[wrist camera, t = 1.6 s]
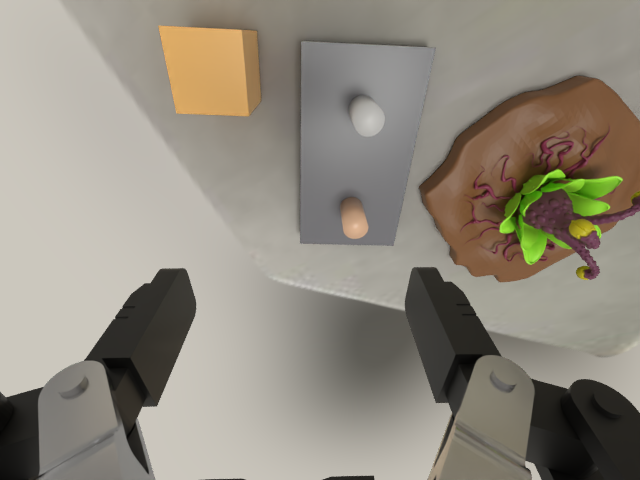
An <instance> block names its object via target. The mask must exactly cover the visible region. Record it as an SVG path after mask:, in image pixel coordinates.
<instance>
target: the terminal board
mask: <svg viewBox="0 0 640 480" xmlns="http://www.w3.org/2000/svg"><path fill="white" fill-rule="evenodd" d="M435 49H436V48H433V47H420V46H399V45H378V44H358V43H337V42H317V41H301V183H300V243H303V244H344V245H385V246H393V245H394V241H395V236H396V231H397V227H398V222H399V217H400V213H401V208H402V203H403V199H404V194H405V189H406V185H407V180H408V175H409V171H410V166H411V161H412V157H413V152H414V147H415V143H416V138H417V133H418V129H419V124H420V119H421V115H422V110H423V105H424V101H425V96H426V91H427V87H428V82H429V77H430V72H431V68H432V63H433V58H434V54H435Z"/></svg>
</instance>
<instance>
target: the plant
mask: <svg viewBox="0 0 640 480" xmlns="http://www.w3.org/2000/svg"><path fill="white" fill-rule="evenodd" d="M419 189H420V192H421V196H422V202H423V204H424V206H425V207H426V209H427V210H428V211H429V213H430V214H431V215H432V216H433V218H434V221H435V225H436V227H437V228H438V230H439V232H440V233H441V235H442V236H443V238H444V239H445V241H446V242H447V243H448V244H449V245H450V256H451V258H452V260H453V261H454V263H455V264H456V265H463V266H466V268H467V269H468V271H469V272H470V274H471V275H473V276H475V277H480V276H486V275H494V277H495V278H496V279H497V280H498V281H499V282H510V281H517V280H521V279H525V278H528V277H530V276H532V275H534V274H536V273H538V272H539V271H541V270H543V269H545V268H547V267H548V266H550V265H552V264H554V263H556V262H558V261H560V260H562V259H564V258H566V257H568V256H570V255H571V254H573V253H575V252H577V253H578V254H579V255H580V256H581V258H582V260H585V262H586V263H587V265H588V266H589V267H588V266H582V267H579V268H578V269H577V270H576V274H577V276H578V277H579V278H581V279H584V280H588V279H590V280H591V279H594V278H596V276H598V274H599V273H600V272H599V270H600V269H598V268H599V267H598V266H596V261H594V260H593V257H592V256H590V254H589V253H590V252H589V250H586V249H585V246H586V247H587V248H588V249H591V248H593V249H596V248H598V247H599V245H600V241H599V240H600V238H601V234H602V233H604V232H606V231H608V230H610V229H612V228H613V227H614V226H615V225H616V223H617V222H618V221H619V220H623V219H625V218H626V217H628V216H632V215H634V214H635V213H636V212H639V211H640V121H639V120H638V119H637V117H636V116H635V115H634V114H633V112H632V111H631V110H630V109H629V108H628V106H627V105H626V104H625V103H624V102H623V101H622V99H621V98H620V97H619V95H618V94H617V93H616V92H615V91H614V90H612V89H611V88H610V87H609V86H607V85H606V84H605V83H604V82H602V81H601V80H599V79H596V78H589V77H583V76H575V77H573V78H571V79H568V80H566V81H563V82H561V83H558V84H556V85H554V86H551V87H548V88H546V89H542V90H539V91H530V92H525V93H522V94H519V95H517V96H515V97H513V98H511V99H509V100H507V101H505V102H503V103H502V104H500V105H498V106H497V107H496V108H494V109H493V110H492V111H491V112H489V113H488V114H487V115H486V116H484V117H483V118H482V119H480V120H479V121H478V122H476V123H475V124H473V125H472V126H471V127H469V128H468V129H467V130H465V131H464V132H463V133H461V134H460V135H459V136H458V137H457V138H456V140H455V142H454V144H453V147H452V149H451V151H450V153H449V155H448V157H447V159H446V160H445V161H444V163H443V164H442V165H441V166H440V167H439V168H438V169H437V170H436V171H435V172H434V173H433V175H432V176H431V177H430V178H428V179H427V180H426V181H425V182H424V183H423V184H421V185H420V186H419Z"/></svg>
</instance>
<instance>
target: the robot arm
mask: <svg viewBox="0 0 640 480" xmlns="http://www.w3.org/2000/svg"><path fill="white" fill-rule="evenodd" d="M405 311H406V316H407V319H408V322H409V325H410V327H411V331H412V334H413V337H414V339H415V342H416V345H417V348H418V351H419V354H420V357H421V360H422V363H423V366H424V369H425V372H426V375H427V378H428V381H429V384H430V387H431V390H432V393H433V396H434V399H435V401H436V403H449V405H450V408H451V411H452V414H451V416H450V419H449V422H448V424H447V427H446V430H445V433H444V435H443V438H442V441H441V444H440V447H439V449H438V452H437V455H436V458H435V461H434V463H433V466H432V469H431V472H430V474H429V477H428V479H427V480H532V475H531V472H530V470H529V469H528V468H526V467H525V461H528V462H531V463H534V464H535V466H536V468H537V471H538V473H539V475H540V477H541V479H542V480H640V413H639V412H638V410H637V409H636V408H635V407H634V406H633V405H632V403H630V401H628V400H627V399H626V398H625V397H624V396H623V395H621V394H620V393H619V392H617V391H616V390H614V389H612V388H610V387H609V386H607V385H604V384H602V383H600V382H597V381H593V380H588V379H581V380H577V381H576V382H574V383H573V384H572V385H571V386H570V388H569V389H566V388H563V387H559V386H555V385H552V384H548V383H544V382H540V381H537V380H534V379H531V378H530V377H529V376H528V375H527V374H526V372H525V371H524V370H523V369H522V368H521V367H520V366H518V365H517V364H515V363H514V362H512V361H511V360H509V359H506V358H504V357H502V356H501V355H500V353H499V351H498V350H497V348H496V346H495V345H494V343H493V341H492V340H491V338H490V336H489V334H488V333H487V331H486V329H485V328H484V326H483V324H482V323H481V321H480V319H479V318H478V316H476V313H475V311H474V309H473V307H472V306H470V302H469V301H468V299H467V297H466V296H465V294H464V292H463V291H462V290H460V289H459V288H458V287H457V286H456V285H455V284H453V283H452V282H444V281H443V279H442V277H441V275H440V273H439V271H438V270H437V268H435V267H414V268H413V269H412V271H411V275H410V280H409V284H408V289H407V293H406V298H405ZM195 313H196V300H195V296H194V293H193V290H192V286H191V283H190V280H189V276H188V273H187V271H186V270H185V269H183V268H180V269H160V270H159V271H158V273H157V274H156V276H155V277H154V279H153V280H152V282H151V283H146V284H144V285H143V286H141V287H140V288H139V289H137V290H136V291H135V292H133V293H132V294H131V295H130V297H129V298H128V300H127V301H126V302H125V304H124V305H123V308H122V309H120V311H119V312H118V314H117V315H116V317H115V319H114V320H113V321H112V322H111V324H110V325H109V327H108V328H107V329H106V331H105V332H104V334H103V335H102V336H101V338H100V339H99V341H98V342H97V343H96V345H95V346H94V348H93V349H92V351H91V352H90V354H89V355H88V356H87V358H86V359H85V360H84V361H82V362H79V363H75V364H73V365H71V366H69V367H67V368H65V369H63V370H62V371H60V372H59V373H57V374H56V375H55V376H53V378H51V379H50V380H49V381H48V382H47V383H46V385H45V386H44V387H42V388H38V389H34V390H31V391H27V392H24V393H20V394H17V395H13V396H10V397H5V396H4V395H3V394H2V393H1V392H0V480H155V477H154V474H153V470H152V467H151V463H150V459H149V456H148V453H147V449H146V445H145V442H144V438H143V435H142V431H141V428H140V425H139V421H138V419H137V417H138V415H139V412H140V410H141V408H142V407H147V406H148V407H150V406H157V405H158V402H159V400H160V398H161V395H162V393H163V391H164V388H165V386H166V383H167V381H168V378H169V376H170V374H171V372H172V369H173V367H174V364H175V362H176V359H177V357H178V355H179V353H180V350H181V348H182V345H183V343H184V341H185V338H186V336H187V334H188V331H189V329H190V326H191V324H192V322H193V319H194V317H195ZM209 480H245V479H209ZM323 480H374V476H341V477H329V478H326V479H323Z"/></svg>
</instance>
